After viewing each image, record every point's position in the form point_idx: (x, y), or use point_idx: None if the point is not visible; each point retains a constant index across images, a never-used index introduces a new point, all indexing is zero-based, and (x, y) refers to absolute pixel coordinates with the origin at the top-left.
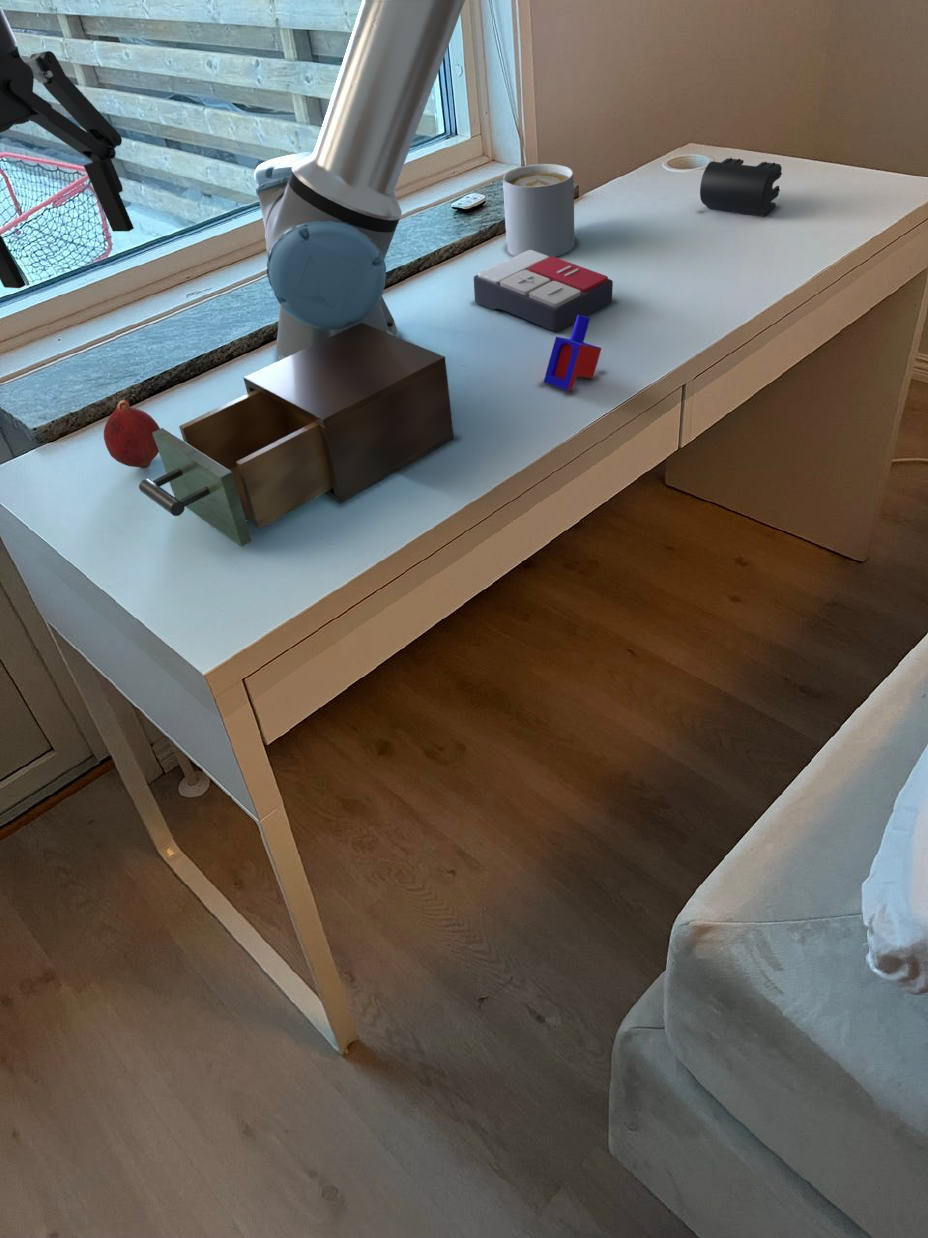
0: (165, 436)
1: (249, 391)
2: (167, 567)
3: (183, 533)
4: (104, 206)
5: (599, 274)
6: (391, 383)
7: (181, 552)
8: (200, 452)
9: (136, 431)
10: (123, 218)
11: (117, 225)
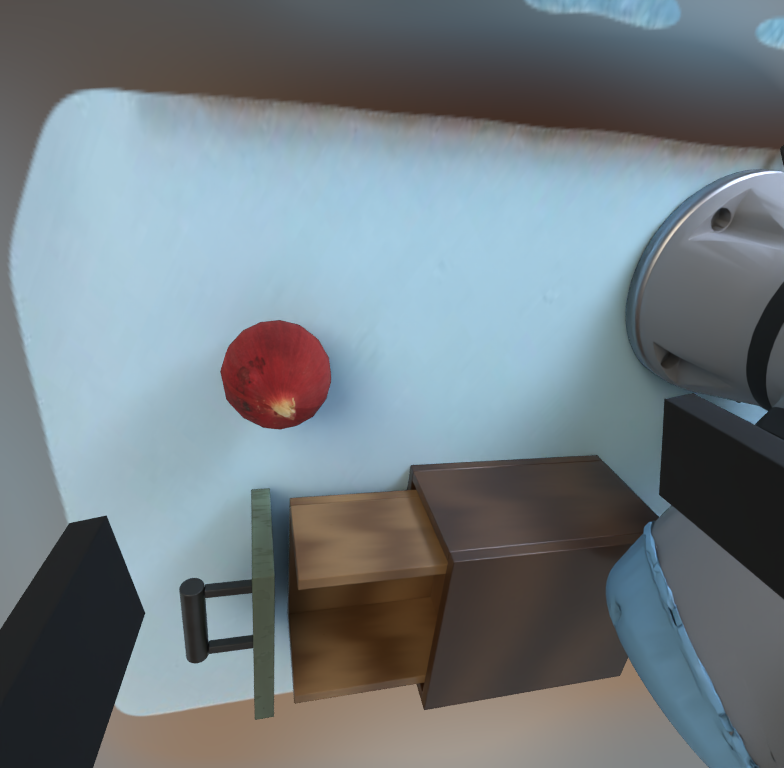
0: (261, 601)
1: (444, 553)
2: (167, 578)
3: (222, 534)
4: (743, 467)
5: None
6: (536, 689)
7: (197, 564)
8: (272, 663)
9: (273, 428)
10: (695, 521)
11: (676, 459)
